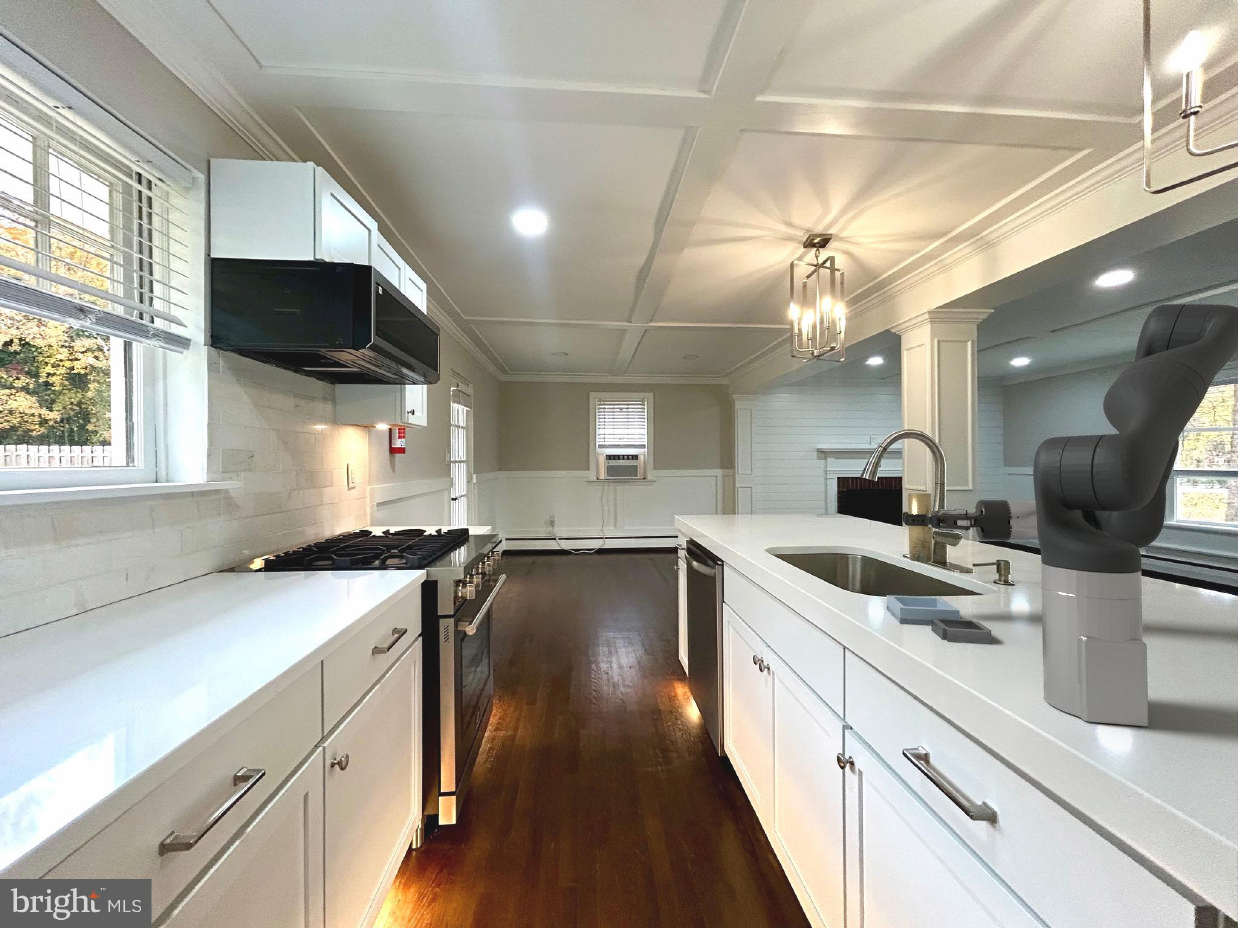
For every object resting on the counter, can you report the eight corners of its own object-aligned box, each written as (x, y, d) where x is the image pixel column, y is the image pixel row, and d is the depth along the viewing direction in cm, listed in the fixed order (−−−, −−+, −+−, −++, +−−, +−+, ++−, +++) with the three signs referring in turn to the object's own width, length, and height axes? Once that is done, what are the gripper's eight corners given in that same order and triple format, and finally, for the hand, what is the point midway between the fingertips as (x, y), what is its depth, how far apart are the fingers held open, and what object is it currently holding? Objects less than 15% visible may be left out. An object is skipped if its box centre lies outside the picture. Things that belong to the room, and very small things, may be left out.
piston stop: (936, 562, 102) (934, 493, 102) (912, 561, 103) (911, 494, 103) (929, 558, 106) (927, 492, 106) (906, 558, 107) (905, 493, 107)
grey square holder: (994, 644, 88) (994, 632, 88) (944, 641, 90) (944, 629, 90) (975, 630, 96) (975, 619, 96) (929, 628, 97) (929, 617, 97)
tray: (960, 626, 98) (959, 610, 98) (900, 623, 101) (900, 607, 101) (940, 612, 108) (940, 597, 108) (886, 609, 110) (886, 595, 110)
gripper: (998, 497, 105) (900, 497, 112) (1019, 502, 92) (906, 501, 99) (999, 536, 105) (900, 533, 112) (1020, 546, 92) (907, 542, 99)
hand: (904, 518), depth 106 cm, fingers closed on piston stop, 4 cm apart
